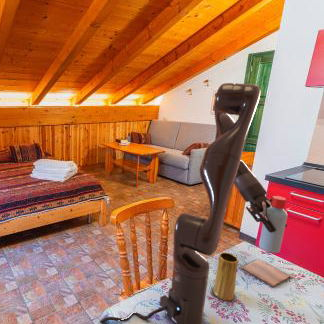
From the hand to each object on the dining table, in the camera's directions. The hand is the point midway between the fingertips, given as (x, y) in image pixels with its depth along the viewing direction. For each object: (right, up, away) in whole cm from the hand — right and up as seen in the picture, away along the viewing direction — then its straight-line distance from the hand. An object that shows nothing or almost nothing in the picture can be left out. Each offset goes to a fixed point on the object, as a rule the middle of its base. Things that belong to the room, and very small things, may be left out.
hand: (278, 229), depth 86 cm
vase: (-20, -22, -1) cm, 30 cm away
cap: (-1, +8, -1) cm, 8 cm away
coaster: (+2, -19, +8) cm, 20 cm away
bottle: (-1, -8, +4) cm, 9 cm away
